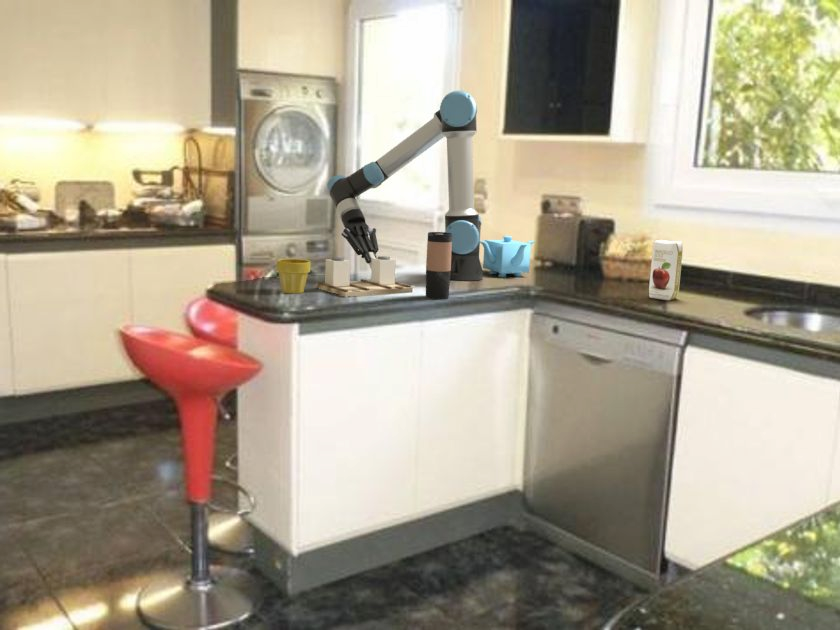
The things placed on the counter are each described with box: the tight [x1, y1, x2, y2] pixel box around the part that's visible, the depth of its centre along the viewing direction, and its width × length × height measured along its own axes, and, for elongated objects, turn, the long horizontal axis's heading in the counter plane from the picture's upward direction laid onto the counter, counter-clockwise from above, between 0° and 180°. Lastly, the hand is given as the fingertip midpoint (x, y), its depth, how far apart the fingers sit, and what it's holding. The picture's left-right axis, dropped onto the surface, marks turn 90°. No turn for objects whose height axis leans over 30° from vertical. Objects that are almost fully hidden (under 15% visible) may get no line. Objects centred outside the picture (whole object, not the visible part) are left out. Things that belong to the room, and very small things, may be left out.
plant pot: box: [276, 258, 311, 294], centre depth 258 cm, size 10×10×10 cm
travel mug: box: [425, 231, 452, 300], centre depth 258 cm, size 8×8×20 cm
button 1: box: [324, 256, 351, 287], centre depth 264 cm, size 5×6×9 cm
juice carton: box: [648, 239, 684, 301], centre depth 275 cm, size 8×9×19 cm
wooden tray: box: [315, 278, 414, 298], centre depth 267 cm, size 18×25×2 cm
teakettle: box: [480, 235, 536, 278], centre depth 314 cm, size 19×19×15 cm
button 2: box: [370, 255, 397, 285], centre depth 272 cm, size 5×6×9 cm
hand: (376, 270), depth 275 cm, fingers closed
